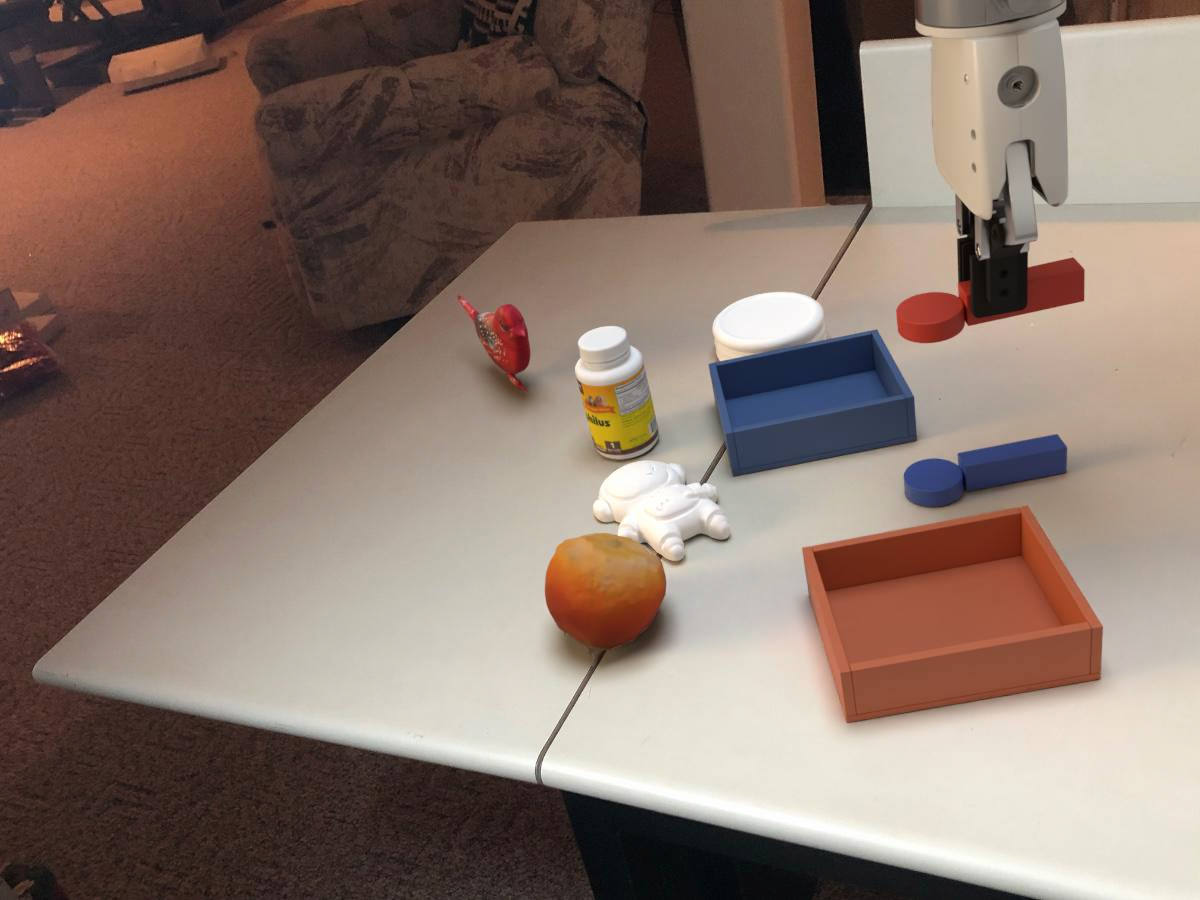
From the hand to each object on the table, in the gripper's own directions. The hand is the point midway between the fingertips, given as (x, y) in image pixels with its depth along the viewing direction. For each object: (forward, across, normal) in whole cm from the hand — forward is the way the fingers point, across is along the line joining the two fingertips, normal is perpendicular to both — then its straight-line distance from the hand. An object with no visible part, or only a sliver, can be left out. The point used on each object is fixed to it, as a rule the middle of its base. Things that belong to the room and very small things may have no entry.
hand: (992, 301), depth 66 cm
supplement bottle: (+16, +16, +25) cm, 34 cm away
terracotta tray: (+16, -12, +7) cm, 21 cm away
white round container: (+16, +27, +12) cm, 33 cm away
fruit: (+16, -6, +27) cm, 32 cm away
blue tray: (+16, +14, +10) cm, 23 cm away
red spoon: (+1, 0, 0) cm, 1 cm away
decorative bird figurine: (+16, +32, +37) cm, 51 cm away
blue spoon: (+15, +2, 0) cm, 16 cm away
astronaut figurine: (+16, +5, +23) cm, 28 cm away
